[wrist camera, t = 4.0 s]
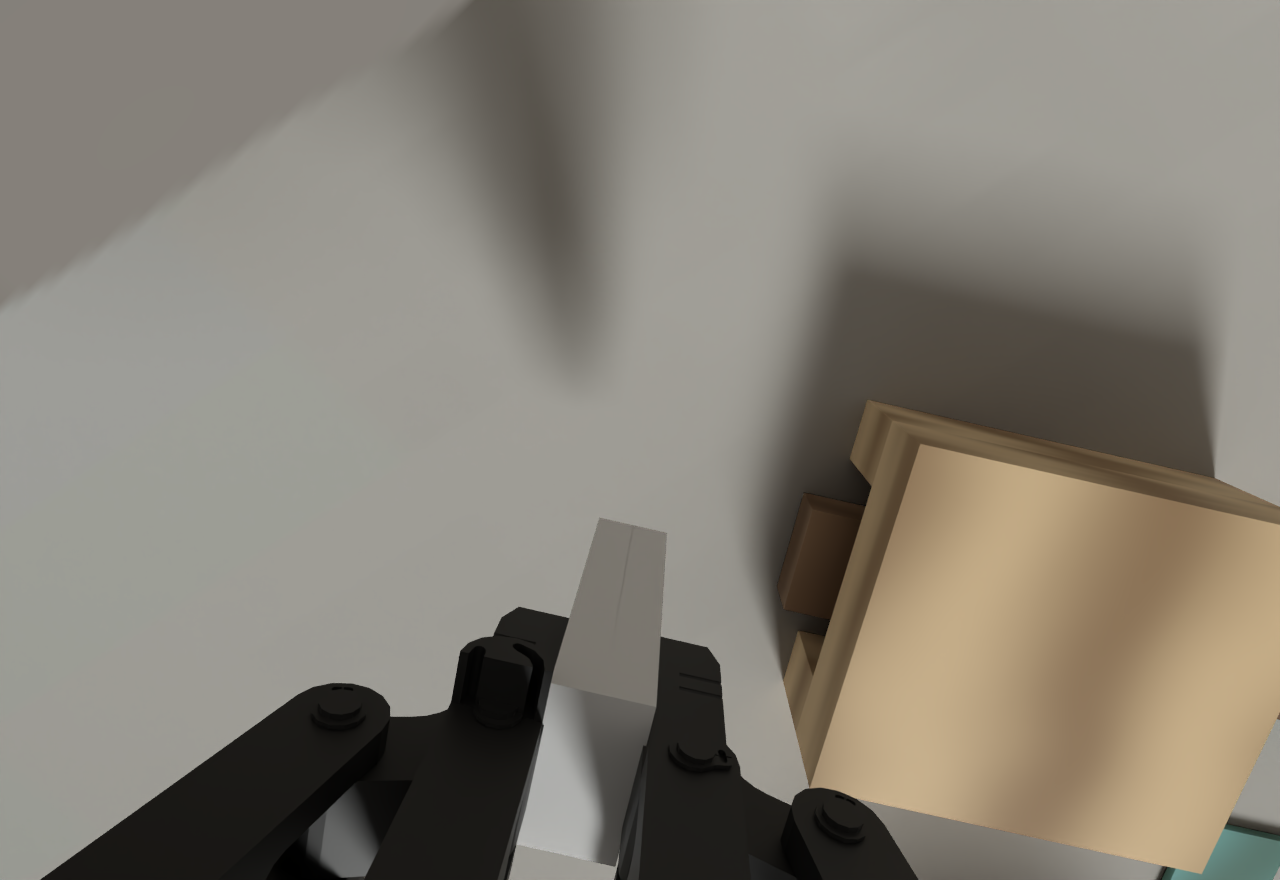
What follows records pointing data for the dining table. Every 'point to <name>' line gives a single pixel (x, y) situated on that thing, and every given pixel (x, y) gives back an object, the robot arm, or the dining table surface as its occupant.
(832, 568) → the wooden block assembly
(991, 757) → the light wooden box
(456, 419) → the dining table surface
